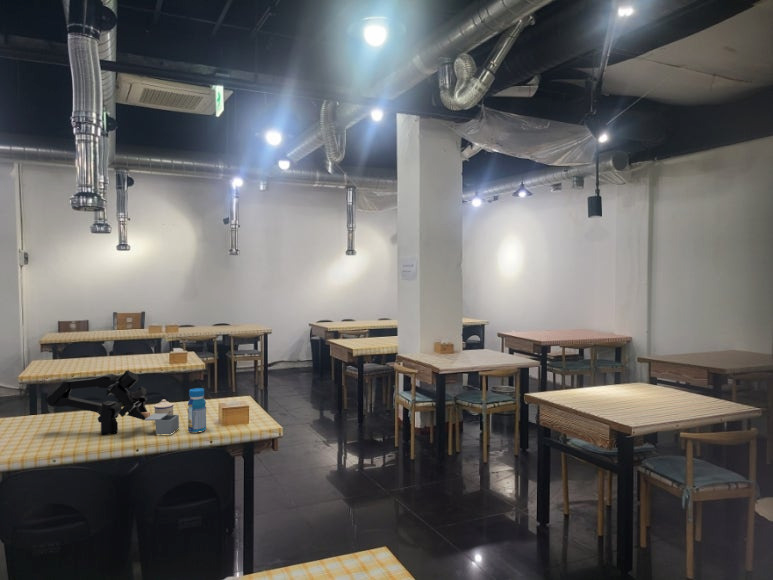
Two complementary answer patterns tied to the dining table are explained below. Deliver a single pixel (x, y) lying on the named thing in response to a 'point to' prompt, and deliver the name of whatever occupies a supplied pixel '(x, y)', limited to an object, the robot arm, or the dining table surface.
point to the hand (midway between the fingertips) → (146, 418)
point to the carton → (167, 424)
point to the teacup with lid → (164, 408)
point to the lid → (153, 416)
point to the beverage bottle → (196, 410)
